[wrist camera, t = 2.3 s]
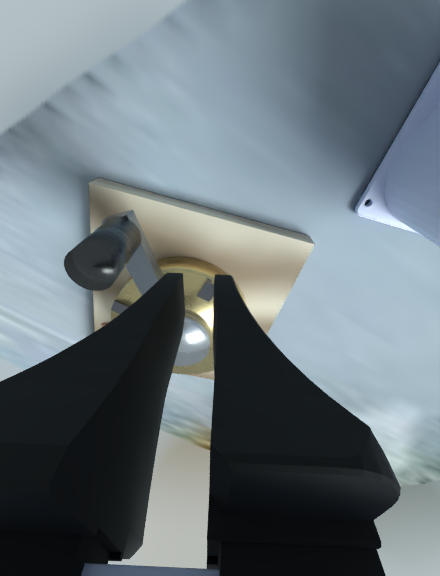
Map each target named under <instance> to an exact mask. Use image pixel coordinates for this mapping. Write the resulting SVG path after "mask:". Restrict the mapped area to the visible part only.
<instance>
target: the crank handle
mask: <svg viewBox="0 0 440 576" xmlns="http://www.w3.org/2000/svg"><path fill="white" fill-rule="evenodd" d="M101 223H102V225H101V226H100V227H98V228H97V229H96V230H95V231H94V232H92V233H91V234H90V235H89V236H88V237H87V238H85V239H84V240H83V241H82V242H81V243H79V244H78V245H77V246H76V247H75V248H74V249H72V250H71V251H70V252H69V253H68V254H67V255H66V257H65V259H64V266H65V270H66V272H67V274H68V275H69V277H70V278H71V279H72V280H73V281H74V282H75V283H76V284H78V285H79V286H81V287H83V288H85V289H88V290H92V291H103V290H106V289H108V288H110V287H111V286H112V284H113V283H114V282H115V280H116V279H117V277H118V276H119V275H120V273H121V272H122V270H123V269H124V267H125V266H126V268H127V270H128V271H129V273H130V275H131V276H130V278H129V279H128V280H127V282H126V284H125V285H124V287H123V288H122V290H121V292H120V293H119V295H118V296H117V298H116V299H115V301H114V303H113V305H112V308H111V321H112V320H113V319H114V318H116V317H117V316H118V315H120V314H121V313H122V312H123V311H125V310H126V309H127V308H128V307H130V306H131V305H132V304H133V303H134V302H136V301H137V300H138V299H139V298H140V297H141V296H142V295H143V294H145V293H146V292H147V291H148V290H149V289H150V288H151V287H152V286H153V285H154V284H155V283H156V282H157V281H159V280H160V279H161V278H162V277H163V276H164V275H165V274H166V273H167V272H168V273H183V282H184V298H185V320H184V327H183V333H182V338H181V342H180V345H179V349H178V352H177V356H176V359H175V363H174V367H173V370H172V373H177V374H200V373H206V372H210V371H214V356H213V301H214V278H215V274H216V275H228V274H227V273H225V272H224V271H223V270H221V269H219V268H218V267H216V266H214V265H212V264H210V263H208V262H205V261H202V260H198V259H194V258H189V257H167V258H161V259H157V260H156V258H155V256H154V254H153V252H152V250H151V247H150V245H149V243H148V241H147V239H146V237H145V235H144V232H143V230H142V228H141V226H140V224H139V222H138V220H137V217H136V215H135V213H134V211H133V209H132V210H129V211H125V212H122V213H118V214H114V215H111V216H108V217H107V218H106V219H104V220H103V221H102V222H101ZM234 282H235V281H234ZM235 284H236V287H237V289H238V291H239V293H240V295H241V297H242V299H243V301H244V302H245V304H246V301H245V298H244V295H243V293H242V291H241V289H240V287H239V286H238V285H237V283H236V282H235Z"/></svg>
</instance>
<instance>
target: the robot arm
mask: <svg viewBox="0 0 440 576" xmlns="http://www.w3.org/2000/svg"><path fill="white" fill-rule="evenodd" d="M368 199H370V202H369V203H368V204H367V205H365V201H366V200H368ZM355 213H356V214H357V215H358V216H360V217H363V218H367V219H370V220H373V221H377V222H380V223H384V224H387V225H390V226H394V227H397V228H401V229H404V230H407V231H411V232H414V233H418V234H421V235H422V236H424V237H425V238H427V239H429V240H430V241H432V242H433V243H435V244H437V245H438V246H440V63H439V64H438V66H437V68H436V70H435V71H434V73H433V75H432V76H431V78H430V80H429V82H428V83H427V85H426V87H425V88H424V90H423V92H422V94H421V95H420V97H419V99H418V100H417V102H416V104H415V106H414V107H413V109H412V111H411V113H410V114H409V116H408V118H407V119H406V121H405V123H404V125H403V126H402V128H401V130H400V131H399V133H398V135H397V137H396V138H395V140H394V142H393V144H392V145H391V147H390V149H389V150H388V152H387V154H386V156H385V157H384V159H383V161H382V162H381V164H380V166H379V168H378V169H377V171H376V173H375V175H374V176H373V178H372V180H371V181H370V183H369V185H368V187H367V188H366V190H365V192H364V193H363V195H362V197H361V199H360V200H359V202H358V204H357V205H356V208H355ZM184 320H185V298H184V282H183V273H168V272H167V273H166V274H165V275H164V276H163V277H162V278H161V279H160V280H159V281H157V282H156V283H155V284H154V285H153V286H152V287H151V288H150V289H149V290H148V291H147V292H146V293H145V294H143V295H142V296H141V297H140V298H139V299H138V300H137V301H136V302H134V303H133V304H132V305H131V306H130V307H128V308H127V309H126V310H125V311H123V312H122V313H121V314H120V315H118V316H117V317H116V318H114V319H113V320H112V321H110V322H109V323H107V324H106V325H104V326H103V327H101V328H100V329H98V330H97V331H95V332H94V333H92V334H91V335H89V336H88V337H86V338H84V339H83V340H81V341H79V342H77V343H76V344H74V345H72V346H70V347H69V348H67V349H65V350H63V351H62V352H60V353H58V354H56V355H54V356H53V357H51V358H49V359H47V360H45V361H43V362H41V363H39V364H37V365H35V366H33V367H31V368H29V369H27V370H24V371H23V372H20V373H18V374H16V375H14V376H12V377H10V378H7V379H5V380H3V381H1V382H0V576H385V573H384V570H383V567H382V564H381V561H380V558H379V555H378V552H377V549H379V548H381V540H380V537H379V535H378V532H377V529H376V526H375V524H374V521H373V520H374V519H376V518H377V517H378V516H380V515H381V514H383V513H384V512H385V511H386V510H388V509H389V508H390V507H392V506H393V505H394V504H395V503H396V502H397V501H398V498H399V496H400V485H399V483H398V481H397V479H396V477H395V475H394V472H393V470H392V468H391V466H390V464H389V462H388V460H387V458H386V456H385V454H384V452H383V450H382V448H381V446H380V445H379V443H378V441H377V440H376V438H375V436H374V435H373V433H372V431H371V429H370V427H369V426H368V425H366V424H365V423H364V422H362V421H361V420H360V419H358V418H357V417H356V416H354V415H353V414H352V413H350V412H349V411H348V410H346V409H345V408H344V407H343V406H341V405H340V404H339V403H337V402H336V401H335V400H333V399H332V398H331V397H329V396H328V395H327V394H326V393H325V392H323V391H322V390H321V389H320V388H319V387H318V386H316V385H315V384H314V383H313V382H312V381H311V380H309V379H308V378H307V377H306V376H305V375H304V374H303V373H302V372H301V371H300V370H299V369H298V368H297V367H296V366H295V365H294V364H293V363H292V362H291V361H290V360H289V359H288V358H287V357H286V356H285V355H284V354H283V353H282V352H281V351H280V350H279V349H278V348H277V347H276V345H275V344H274V343H273V342H272V341H271V340H270V338H269V337H268V336H267V335H266V333H265V332H264V331H263V330H262V328H261V327H260V325H259V324H258V323H257V321H256V320H255V318H254V317H253V315H252V314H251V312H250V311H249V309H248V307H247V306H246V304H245V302H244V301H243V299H242V297H241V295H240V293H239V291H238V289H237V287H236V284H235V282H234V278H233V277H232V276H231V275H216V274H215V278H214V301H213V356H214V396H213V412H212V429H211V445H210V488H209V489H210V490H209V492H210V493H209V511H208V531H207V569H195V568H174V567H154V566H132V565H110V564H108V561H122V559H130V558H131V557H132V556H133V555H134V554H135V553H136V552H137V550H138V549H139V548H140V547H141V546H142V543H143V536H144V528H145V521H146V514H147V507H148V500H149V493H150V486H151V480H152V473H153V467H154V461H155V454H156V448H157V442H158V436H159V430H160V424H161V419H162V413H163V407H164V402H165V397H166V392H167V388H168V384H169V381H170V377H171V374H172V370H173V367H174V363H175V359H176V356H177V352H178V349H179V345H180V342H181V338H182V333H183V327H184Z"/></svg>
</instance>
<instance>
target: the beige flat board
mask: <svg viewBox="0 0 440 576" xmlns="http://www.w3.org/2000/svg"><path fill="white" fill-rule="evenodd" d="M89 203H90V228H91V233H92V232H94V231H95V230H96V229H97V228H98V227H100V226H101V225H102V223H101V222H102V221H103V220H104V219H106V218H107V217H108V216H111V215H114V214H118V213H122V212H125V211H129V210H132V209H133V211H134V213H135V215H136V217H137V220H138V222H139V224H140V226H141V228H142V230H143V232H144V235H145V237H146V239H147V241H148V243H149V245H150V247H151V250H152V252H153V254H154V256H155V258H156V260H157V259H161V258H167V257H189V258H194V259H198V260H202V261H205V262H208V263H210V264H212V265H214V266H216V267H218V268H219V269H221V270H223V271H224V272H225V273H227V274H228V275H231V276H232V277H233V278H234V281H235V282H236V283H237V285H238V286H239V287H240V289H241V291H242V293H243V295H244V298H245V301H246V306H247V307H248V309H249V311H250V312H251V314H252V315H253V317H254V318H255V320H256V321H257V323H258V324H259V325H260V327H261V328H262V330H263V331H264V332H265V333H266V335H267V333H268V331H269V330H270V328H271V326H272V324H273V322H274V320H275V318H276V316H277V315H278V313H279V311H280V309H281V307H282V305H283V303H284V301H285V300H286V298H287V296H288V294H289V292H290V290H291V288H292V286H293V285H294V283H295V281H296V279H297V277H298V275H299V273H300V271H301V269H302V268H303V266H304V264H305V262H306V260H307V258H308V256H309V254H310V253H311V251H312V249H313V247H314V245H315V244H314V242H313V241H312V239H311V238H310V236H307V235H303V234H300V233H296V232H293V231H289V230H285V229H282V228H278V227H275V226H271V225H267V224H264V223H260V222H257V221H253V220H249V219H246V218H242V217H238V216H235V215H231V214H228V213H224V212H220V211H217V210H213V209H210V208H206V207H202V206H199V205H195V204H192V203H188V202H184V201H181V200H177V199H173V198H170V197H166V196H163V195H159V194H155V193H152V192H148V191H145V190H141V189H137V188H134V187H130V186H127V185H123V184H119V183H116V182H112V181H108V180H105V179H101V178H97V179H95V180H93V181H91V182H89ZM130 276H131V275H130V273H129V271H128V270H127V268H126V266H125V267H124V269H123V270H122V272H121V273H120V275H119V276H118V277H117V279H116V280H115V282H114V283H113V284H112V286H111V287H110V288H108V289H106V290H103V291H93V302H94V327H95V331H97V330H98V329H100V328H101V327H103V326H104V325H106V324H107V323H109V322H110V321H111V308H112V305H113V303H114V301H115V299H116V298H117V296H118V295H119V293H120V292H121V290H122V288H123V287H124V285H125V284H126V282H127V280H128V279H129V278H130ZM187 375H192V376H197V377H202V378H207V379H213V380H214V371H210V372H206V373H200V374H187Z"/></svg>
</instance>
